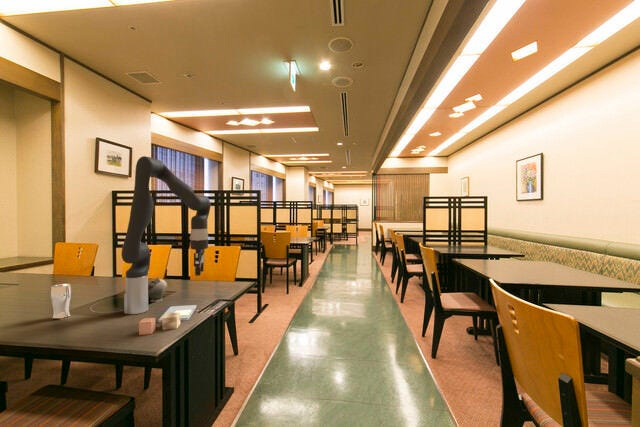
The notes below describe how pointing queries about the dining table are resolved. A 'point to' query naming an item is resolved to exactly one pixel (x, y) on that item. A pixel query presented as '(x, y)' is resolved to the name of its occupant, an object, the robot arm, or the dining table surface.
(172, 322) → the beech block
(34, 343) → the dining table surface
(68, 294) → the beer glass
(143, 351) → the dining table surface
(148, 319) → the terracotta block
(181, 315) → the build board
